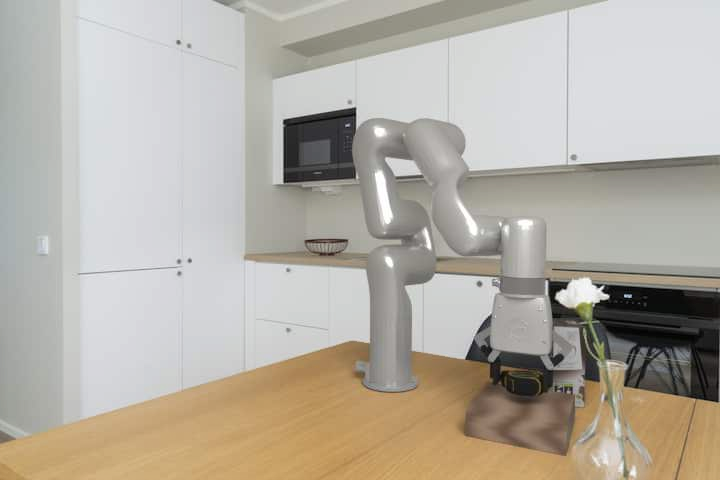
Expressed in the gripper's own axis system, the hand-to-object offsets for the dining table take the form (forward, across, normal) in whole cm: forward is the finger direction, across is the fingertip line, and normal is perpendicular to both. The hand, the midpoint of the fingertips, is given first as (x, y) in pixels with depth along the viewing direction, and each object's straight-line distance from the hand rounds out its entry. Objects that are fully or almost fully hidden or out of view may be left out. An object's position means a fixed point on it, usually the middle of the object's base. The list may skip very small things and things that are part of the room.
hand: (520, 386), depth 88 cm
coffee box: (+8, +5, +21) cm, 23 cm away
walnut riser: (+8, 0, +1) cm, 8 cm away
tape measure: (+2, 0, +1) cm, 2 cm away
